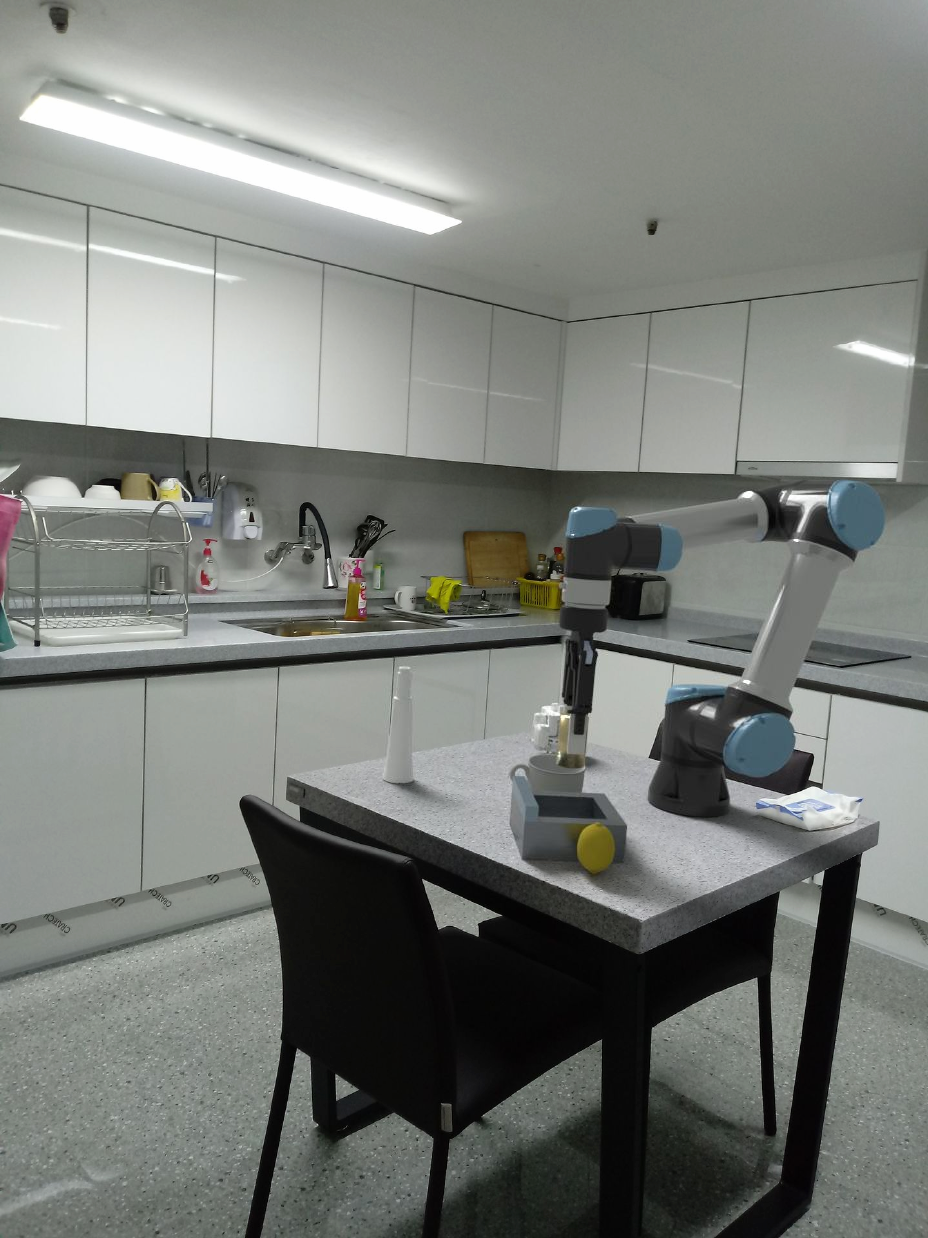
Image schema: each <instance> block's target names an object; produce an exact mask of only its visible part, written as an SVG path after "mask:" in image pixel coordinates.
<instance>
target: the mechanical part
mask: <svg viewBox="0 0 928 1238" xmlns="http://www.w3.org/2000/svg"><path fill="white" fill-rule="evenodd" d="M563 711H564V705H559V703H557V702H553V703H552V702H551V703H550V705H545V706H542V707H541V712H535V713H534V716H533V722H532V725H531V733H530V735H531V736H530V738H531V739H530V740H531V743H532V745H533V747H534V749H535V750H537V751H539V752H540V751H546V753H545V754H550V752H551V754H554V755H555V754H557V746H558V735H559V724H560V714H562V713H563Z"/></svg>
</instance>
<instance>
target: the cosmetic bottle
mask: <svg viewBox="0 0 928 1238" xmlns="http://www.w3.org/2000/svg"><path fill="white" fill-rule="evenodd" d="M398 670H399V671H398V672H397V673H396V688H395V690H396V691H395V696H393V701H392V708H391V716H390V717H391V718H390V727H389V737H388V744H387V745H388V746H387V752H386V758H385V759H386V760H385V764H384V770H383V774H382V780H384V781H385V782H387V783H392V784H399V783H400V784H401V783H402V784H409V783H412V782H413V781H414V778H415V777H414V770H413V769H414V768H413V697H411V694H412V693H411V690H412V689H411V688H412V672H411V667H409V666H399V667H398Z"/></svg>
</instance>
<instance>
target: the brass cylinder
mask: <svg viewBox="0 0 928 1238" xmlns="http://www.w3.org/2000/svg"><path fill="white" fill-rule="evenodd" d="M569 718H570V714H568V713H562V714H560V724H559V735H558V746H557V753H556V755H557V757H556V764H557V765H558V766H561V767H565V768H572V769H578V768H583V767H584V766H586V754H587V743H588V734H589V732H588V731H589V722H590V717H589V716H588V718H587V730H586V741H585V753H584V755H581V754H567V742H568V730H569Z"/></svg>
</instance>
